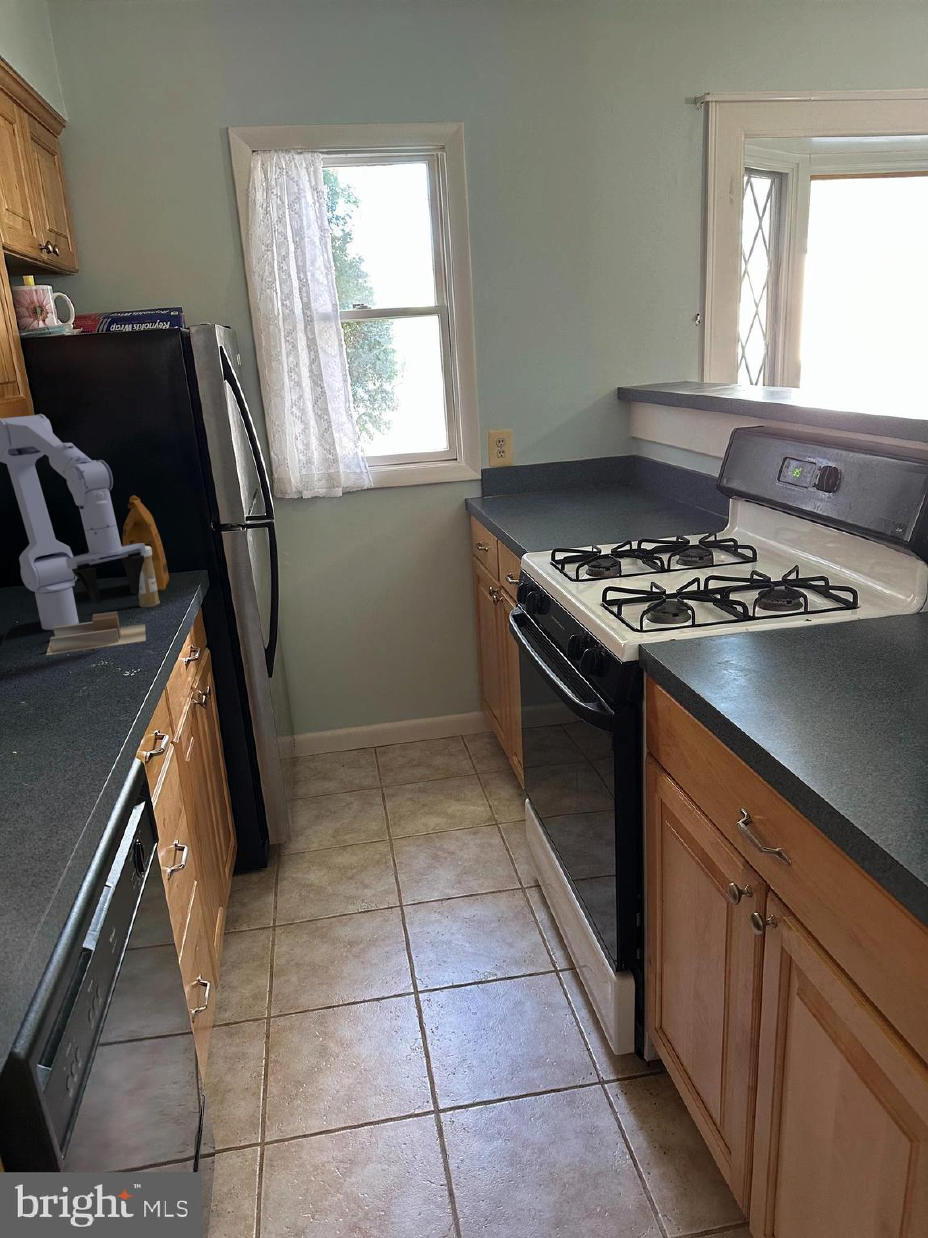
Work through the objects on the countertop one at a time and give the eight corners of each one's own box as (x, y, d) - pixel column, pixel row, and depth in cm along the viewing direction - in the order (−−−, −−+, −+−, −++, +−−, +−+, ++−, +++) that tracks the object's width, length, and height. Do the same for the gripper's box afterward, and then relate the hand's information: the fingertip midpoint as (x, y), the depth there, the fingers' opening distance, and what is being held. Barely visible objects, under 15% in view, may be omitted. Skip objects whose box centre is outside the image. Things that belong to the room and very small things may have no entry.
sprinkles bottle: (162, 605, 202) (153, 547, 198) (142, 609, 199) (132, 550, 195) (157, 601, 205) (148, 544, 201) (136, 605, 203) (127, 547, 199)
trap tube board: (52, 641, 179) (49, 625, 178) (145, 628, 185) (143, 612, 184) (47, 660, 168) (43, 642, 167) (146, 645, 174) (143, 628, 173)
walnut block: (96, 635, 178) (93, 614, 177) (120, 632, 180) (116, 611, 178) (96, 642, 174) (92, 620, 173) (120, 638, 176) (116, 617, 174)
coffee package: (124, 595, 212) (109, 504, 205) (130, 583, 223) (115, 496, 217) (168, 590, 214) (154, 500, 207) (171, 578, 225) (158, 492, 219)
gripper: (70, 535, 158) (87, 609, 161) (146, 520, 167) (161, 590, 170) (55, 534, 162) (72, 606, 166) (130, 520, 172) (144, 588, 175)
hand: (116, 598), depth 168 cm, fingers open, 7 cm apart
